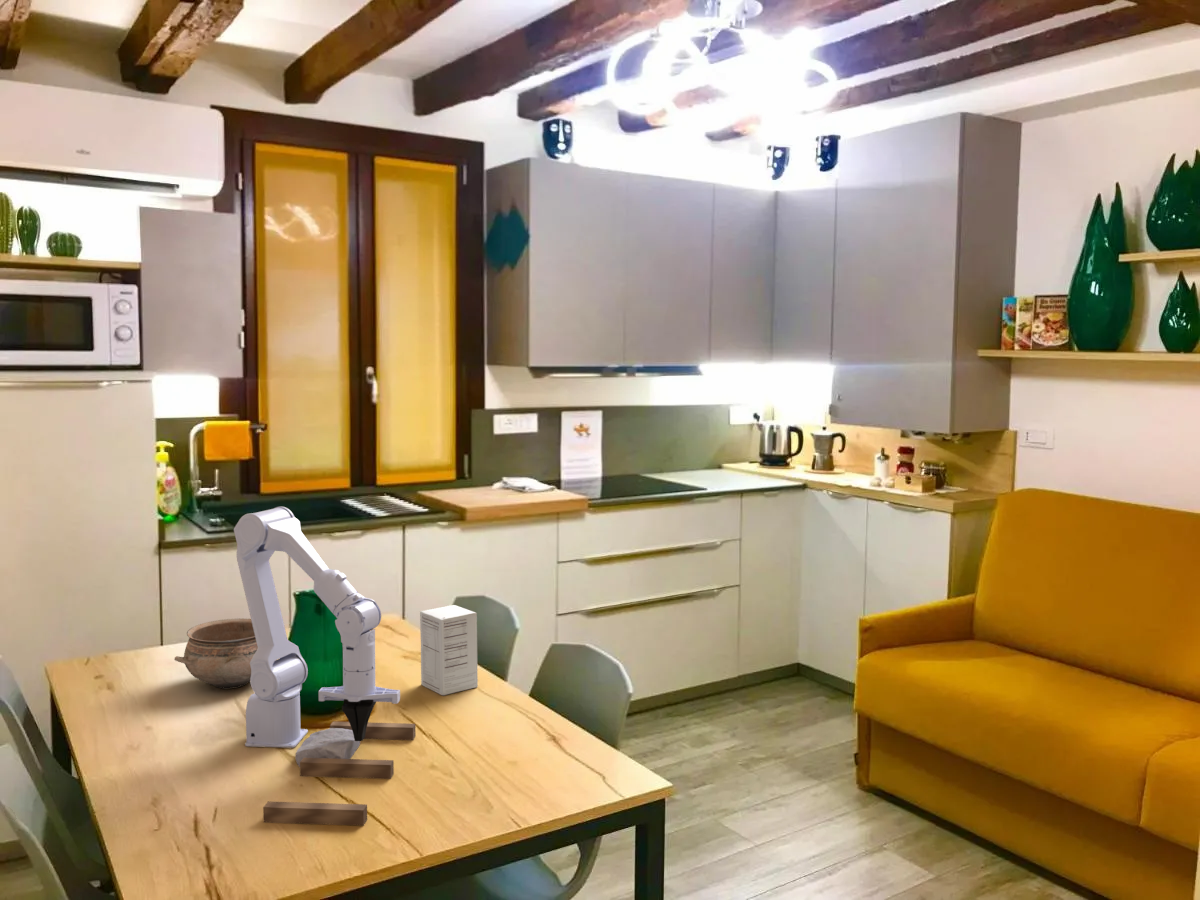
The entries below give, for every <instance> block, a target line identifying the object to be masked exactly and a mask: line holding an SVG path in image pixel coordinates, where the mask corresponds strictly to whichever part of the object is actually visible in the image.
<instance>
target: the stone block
mask: <svg viewBox="0 0 1200 900" xmlns="http://www.w3.org/2000/svg"><path fill="white" fill-rule="evenodd" d="M360 745H361V741H355V739H354V735H353V731H352V730H349V729H343V728H330V727H329V728H326V729H324V730H318V731H315V732H313V733H310V734H309V736H308V737H307V738H305V740H304V741H303V742H302V743H301V745H300V746H299V747H298V748H297V750H296V752H295V757H294V758H295V762H296V764H297V766H298V768H300V761H301V760H302V759H303V758H332V759H352V757H353V756H354V754H355V753H356V751H357V750H358V748H359V747H360Z"/></svg>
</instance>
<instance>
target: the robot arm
mask: <svg viewBox="0 0 1200 900" xmlns="http://www.w3.org/2000/svg"><path fill="white" fill-rule="evenodd" d="M301 526H302V525H301V521H300V520H299V519H298V518H296V517H295V515H294V513H293V512H292V511H291V510H290V509H289V508H288V507H285V506H276V507H274V508H271V509H270V508H269V509H266V510H262V511H261V510H260V511H258V512H253V513H252V512H251V513H246V514H244V515H242V516H241V517H240V518H239V520H238V522H237V523H236V524H235V526H234V528H233V533H234V537H235V541H236V544H237V545H236V561H237V562H236V563H237V565H238V570H239V574H240V579H241V582H242V588H243V590H244V591H243V592H244V595H245V598H246V603H247V608H248V611H249V615H250V619H251V621H252V625H253V629H254V633H255V638H256V642H257V646H258V649H257V651H256V653H255V654H254V656H253V658H252V659H251V661H250V666H251V678H250V681H249V683H250V686H251V689H252V691H253V693H252V694H250V696H249V697H248V699H247V702H246V706H245V731H246V732H245V734H246V735H245V736H246V737H245V738H246V739H245V740H246V742H245V743H244V746H245V747H256V748H257V747H259V748H262V747H263V748H288V749H289V748H295V747H296V746H298V745H299V743H300V742H301V741H302V739H303V738H304V737H305V736H306V735H307V733H309V730H308V729H307V728H306V729H305V728H301V696H300V694H301V693H300V692H301V691H302V689H303V683H305V681H306V680H307V678H308V674H309V672H308V671H309V670H308V664H307V663H306V661H305V659H304V658H303V656H302V654H301V652H300V649H299V646H298V645H296V644H295V643H293V642H291V641H290V640H288V635H287V632H286V627H285V623H284V619H283V615H282V610H281V606H280V602H279V598H278V597H279V596H278V593H277V589H276V585H275V581H274V577H273V572H272V567H271V564H270V559H271V557H272V556H273V554H274V553H275V551H276V552H284V553H285V554H286V555H288V557H289V558H291V559H292V561H293V562H295V564H296V565H298V566H299V568H301V569H302V570H303V572H304V573H305V574H307V576H308V577H310V579H311V580H312V581H313V592H314V593H315V594H316V595H317V597H318V598H319V599H320V600H321V602H322V603H324V605H325V606H326V607H327V609H328V610H329V611H330V612H331V613H332V615H334V617H335V618H336V619H335V620H334V623H335V628H336V629H337V632H339V634H340V643H342V644H341V645H342V685H341V686H330V687H327V686H326V687H325V686H324V687H321V688H320V689H319V690H318V702H325V701H341V702H342V701H343V705H341V710H342V712H343V714H344V715H345V717H346V719H347V720H348V721H347V722H349V723H350V725H351V728H352V731H353V735H354V739H355V741H360V742H363V741H364V740H365V739H364V738H365V733H366V728H367V724H368V722H369V720H370V717H371V713H372V711H373V709H374V707H375V705H376V703H377V702H379V703H391V704H395V705H396V704H399V702H400V701H401V690H400V689H391V688H387V687H386V688H385V687H379V686H376V628H377V627H378V626H379V625H380V623H381V622H382V621H381V620H382V611H381V609H380V607H379V605H378V604H377V601H376V600H374V599H373V598H371V597H366V596H364V595H363V594H361V593H360V592H358V591H357V589H356V588H355V587H354V586H353V585H352V584H351V583H350V582H349V580H348V579H347V578H348V576H347V575H346V574H345V573H344V572H341V571H340V570H339V569H332V568H329V567H328V565H327V564H326V563H325V561H324V560H323V558H321V556H320V554H319V553H318V552H317V551H316V549H315V547H314V546H313V545H312V544H311V543H310V541H309V540H308V538H307V537H306V536H305V534H304V533H303V532H302V529H301Z"/></svg>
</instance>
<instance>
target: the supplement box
mask: <svg viewBox="0 0 1200 900" xmlns="http://www.w3.org/2000/svg"><path fill="white" fill-rule="evenodd" d="M419 612H420V613H419V615H420V616H419V620H420V621H419V622H420V623H419V624H420V628H419V629H420V671H421V672H420V678H421V679H420V680H421V681H420V683H421V686H423V687H425V688H427V689H429V690H431V691H433V692H434V693H437V694H439V695H441V696H447V695H451V694H454V693H459V692H462V691H467V690H470V689H474V688H478V687H479V685H478V684H479V682H478V613H477V612H475V611H473V610H469V609H467V608H464V607H461V606H459V605H456V604H452V605H451V604H450V605H446V606H442V607H441V606H440V607H435V608H431V609H425V610H420V611H419Z"/></svg>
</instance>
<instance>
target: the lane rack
mask: <svg viewBox="0 0 1200 900" xmlns="http://www.w3.org/2000/svg"><path fill="white" fill-rule="evenodd" d="M330 728H343V729H349V730H352V728H351V725H350V723H349V721H332V722H331V723H330V725H329V729H330ZM415 738H416V723H407V722H406V723H400V722H399V723H398V722H371V721H370V722H369V721H368V724H367V728H366V733H365V738H364V739H363V740H386V741H389V740H392V741H414V740H415ZM394 764H395V763H394V760H393V759H364V758H363V759H362V758H361V759H359V758H351V759H332V758H303V759H302V760H301V761H300V767H299V776H300V777H315V778H316V777H318V778H321V777H322V778H350V779H351V778H352V779H377V780H378V779H383V780H385V779H387V780H391V779H392V778H393V776H394V774H395V768H394ZM262 811H263V813H262V814H263V818H262V819H263V823H275V824H277V823H278V824H279V823H280V824H306V825H307V824H309V825H337V826H342V825H343V826H365V824H366V822H367V820H368V804H367V803H365V804H362V803H361V804H359V803H330V802H300V801H299V802H297V801H296V802H295V801H270V800H269V801H267V802H266V803H265V805H264V806H263V807H262Z"/></svg>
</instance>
